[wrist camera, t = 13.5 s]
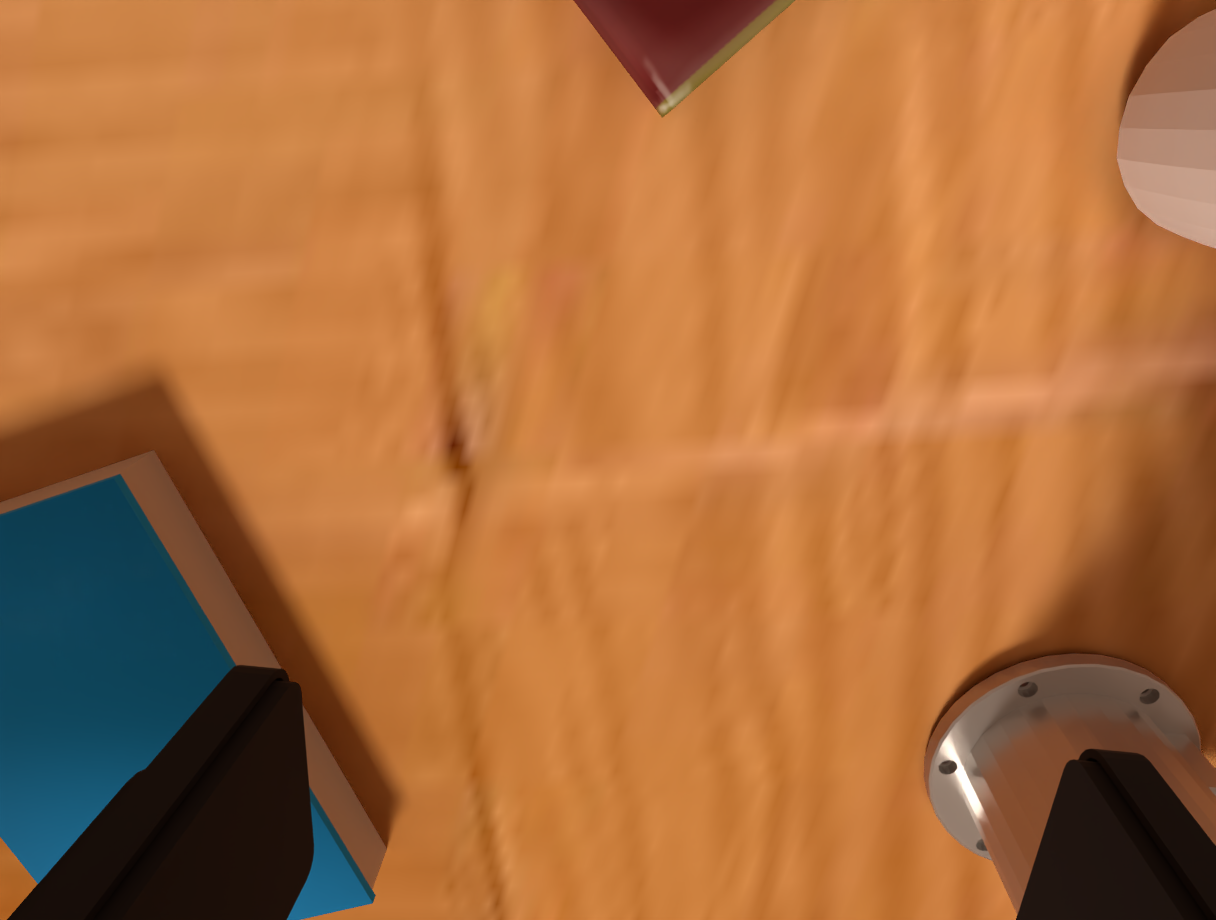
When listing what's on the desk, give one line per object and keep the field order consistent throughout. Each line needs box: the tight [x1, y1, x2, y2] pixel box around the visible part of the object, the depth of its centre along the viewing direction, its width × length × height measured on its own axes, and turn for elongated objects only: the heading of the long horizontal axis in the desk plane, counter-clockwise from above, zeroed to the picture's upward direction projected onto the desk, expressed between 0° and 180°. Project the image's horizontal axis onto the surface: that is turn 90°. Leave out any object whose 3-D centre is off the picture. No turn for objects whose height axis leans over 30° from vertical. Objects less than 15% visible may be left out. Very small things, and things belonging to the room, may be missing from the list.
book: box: [0, 450, 387, 920], centre depth 41 cm, size 17×4×25 cm
